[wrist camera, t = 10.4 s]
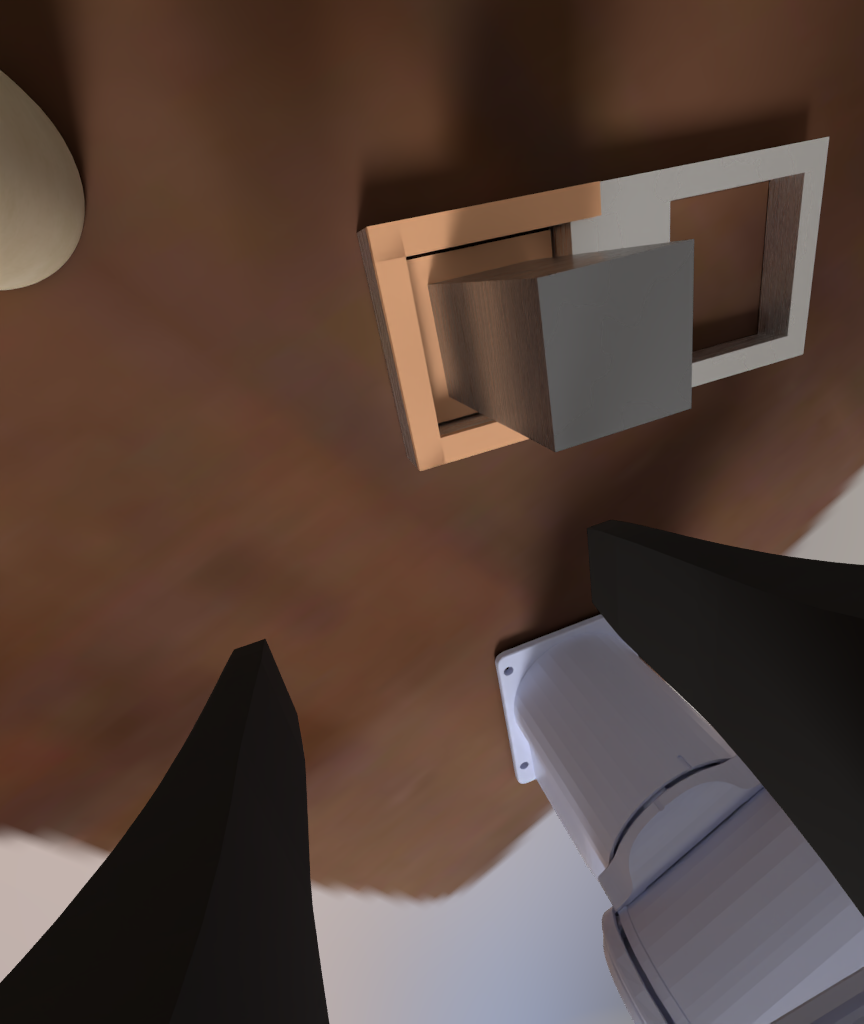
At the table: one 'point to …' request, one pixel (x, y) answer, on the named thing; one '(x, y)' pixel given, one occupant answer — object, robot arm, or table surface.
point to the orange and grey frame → (646, 220)
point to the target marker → (410, 279)
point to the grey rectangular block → (572, 341)
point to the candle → (34, 192)
